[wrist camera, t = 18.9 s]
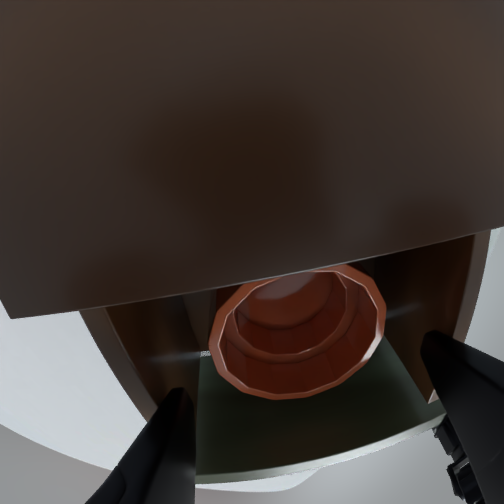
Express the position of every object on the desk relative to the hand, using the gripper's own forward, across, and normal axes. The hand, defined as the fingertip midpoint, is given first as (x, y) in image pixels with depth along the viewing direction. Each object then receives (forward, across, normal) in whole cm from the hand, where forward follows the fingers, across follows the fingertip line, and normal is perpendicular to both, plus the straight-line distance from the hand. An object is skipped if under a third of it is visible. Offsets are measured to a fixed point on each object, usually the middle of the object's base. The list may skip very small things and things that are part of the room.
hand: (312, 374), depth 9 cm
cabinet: (+8, 0, -12) cm, 14 cm away
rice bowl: (+6, 0, 0) cm, 6 cm away
